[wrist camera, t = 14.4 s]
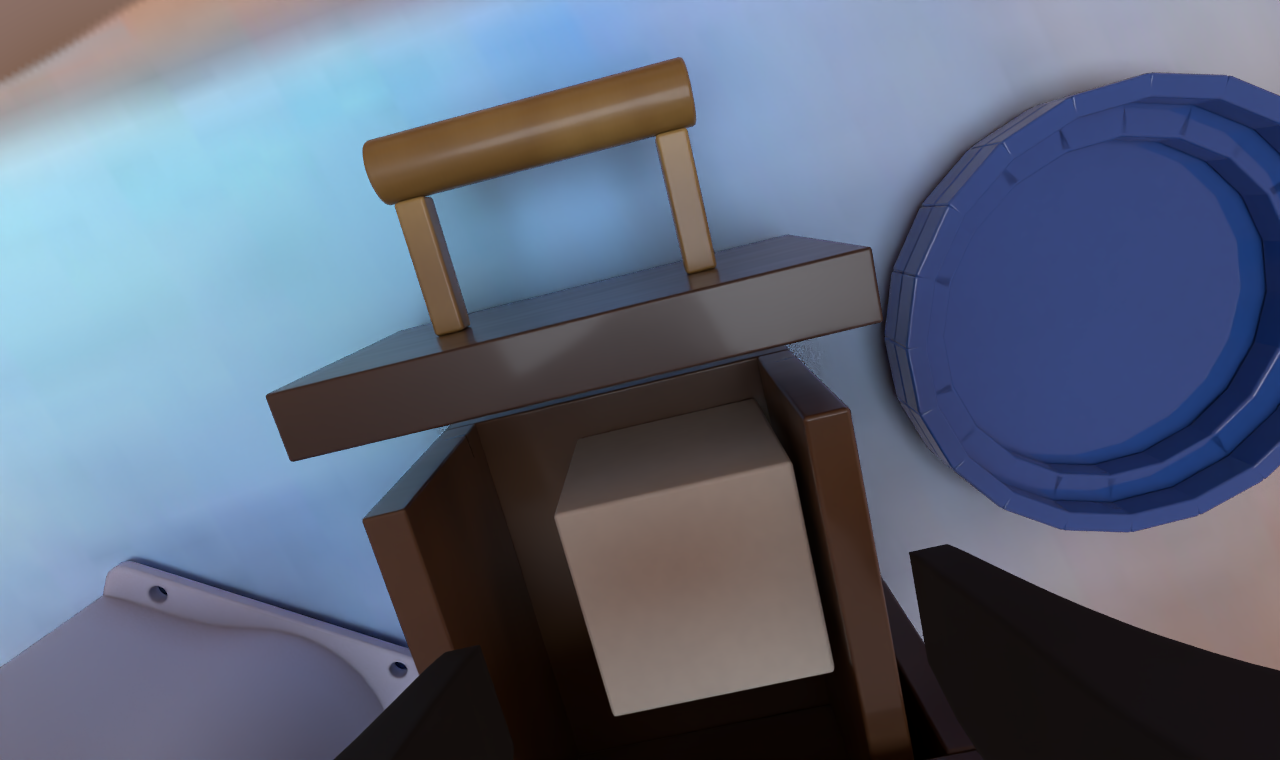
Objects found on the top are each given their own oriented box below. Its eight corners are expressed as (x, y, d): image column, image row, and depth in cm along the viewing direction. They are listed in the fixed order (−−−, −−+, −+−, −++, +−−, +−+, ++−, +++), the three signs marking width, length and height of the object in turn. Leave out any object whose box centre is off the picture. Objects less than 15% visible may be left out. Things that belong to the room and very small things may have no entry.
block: (790, 560, 17) (836, 673, 13) (621, 597, 18) (612, 718, 13) (755, 396, 16) (792, 461, 12) (576, 438, 17) (552, 515, 12)
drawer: (348, 177, 16) (170, 156, 10) (757, 68, 16) (827, -23, 10) (540, 757, 20) (494, 994, 14) (877, 689, 20) (981, 907, 13)
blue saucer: (816, 425, 19) (836, 450, 17) (994, 22, 16) (1041, -4, 14) (1164, 549, 19) (1222, 587, 17) (1383, 180, 17) (1478, 176, 15)
